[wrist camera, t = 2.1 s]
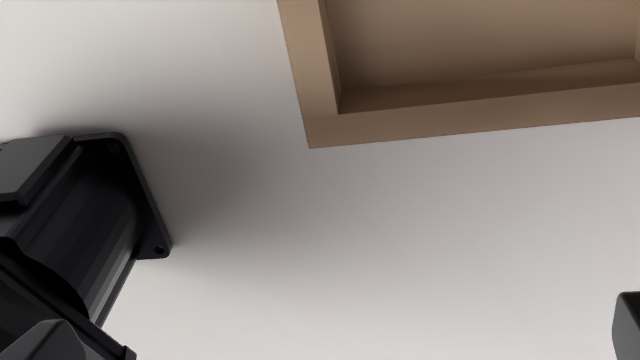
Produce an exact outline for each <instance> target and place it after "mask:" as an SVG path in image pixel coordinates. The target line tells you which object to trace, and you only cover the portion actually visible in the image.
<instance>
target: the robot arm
mask: <svg viewBox="0 0 640 360" xmlns="http://www.w3.org/2000/svg"><path fill="white" fill-rule="evenodd" d="M112 143H115V144H117V145H118V146H119V147H120V148H116V147H114V146H113V145H112ZM158 246H160V247H162V248H160V247H158ZM172 247H173V246H172V242H171V240H170V238H169V235H168V233H167V230H166V228H165V226H164V223H163V221H162V219H161V216H160V214H159V212H158V209H157V207H156V204H155V202H154V200H153V197H152V195H151V193H150V190H149V188H148V186H147V183H146V181H145V178H144V176H143V174H142V171H141V169H140V167H139V164H138V162H137V160H136V157H135V155H134V152H133V150H132V148H131V145H130V143H129V141H128V139H127V138H126V137H125V136H124V135H122V134H120V133H117V132H110V133H101V134H92V135H83V136H74V137H72V136H70V135H66V134H60V135H51V136H42V137H32V138H23V139H14V140H11V141H10V142H9V143H8V144H1V145H0V360H136V357H137V354H136V353H135V352H134V351H132V350H131V349H130V348H129V347H127V346H126V345H125V346H122V345H121V344H119V343H118V342H117V341H116V340H114V339H113V338H112V337H111V336H109V335H108V334H107V333H106V332H104V331H103V330H102V329H101V328H102V326H103V324H104V322H105V320H106V318H107V316H108V314H109V312H110V310H111V308H112V306H113V304H114V302H115V300H116V298H117V297H118V295H119V293H120V291H121V289H122V287H123V285H124V283H125V281H126V279H127V277H128V275H129V273H130V271H131V269H132V267H133V265H134V263H135V261H136V260H145V259H160V258H166V257H168V256H169V254H170V252H171V250H172ZM612 339H613V345H614V349H615V353H616V356H617V360H640V291H633V292H622V293H620V294H619V295H618V297H617V301H616V307H615V313H614V319H613V325H612Z"/></svg>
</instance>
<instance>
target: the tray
mask: <svg viewBox="0 0 640 360" xmlns="http://www.w3.org/2000/svg"><path fill="white" fill-rule="evenodd" d="M277 4H278V9H279V13H280V18H281V23H282V27H283V32H284V36H285V41H286V45H287V50H288V55H289V59H290V64H291V68H292V73H293V77H294V82H295V87H296V91H297V96H298V100H299V105H300V109H301V114H302V119H303V123H304V128H305V132H306V137H307V141H308V146H309V149H312V148H322V147H333V146H343V145H353V144H364V143H374V142H384V141H394V140H405V139H415V138H425V137H435V136H446V135H456V134H466V133H477V132H487V131H497V130H507V129H518V128H528V127H538V126H548V125H559V124H569V123H579V122H590V121H600V120H610V119H620V118H631V117H640V0H277Z"/></svg>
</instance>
